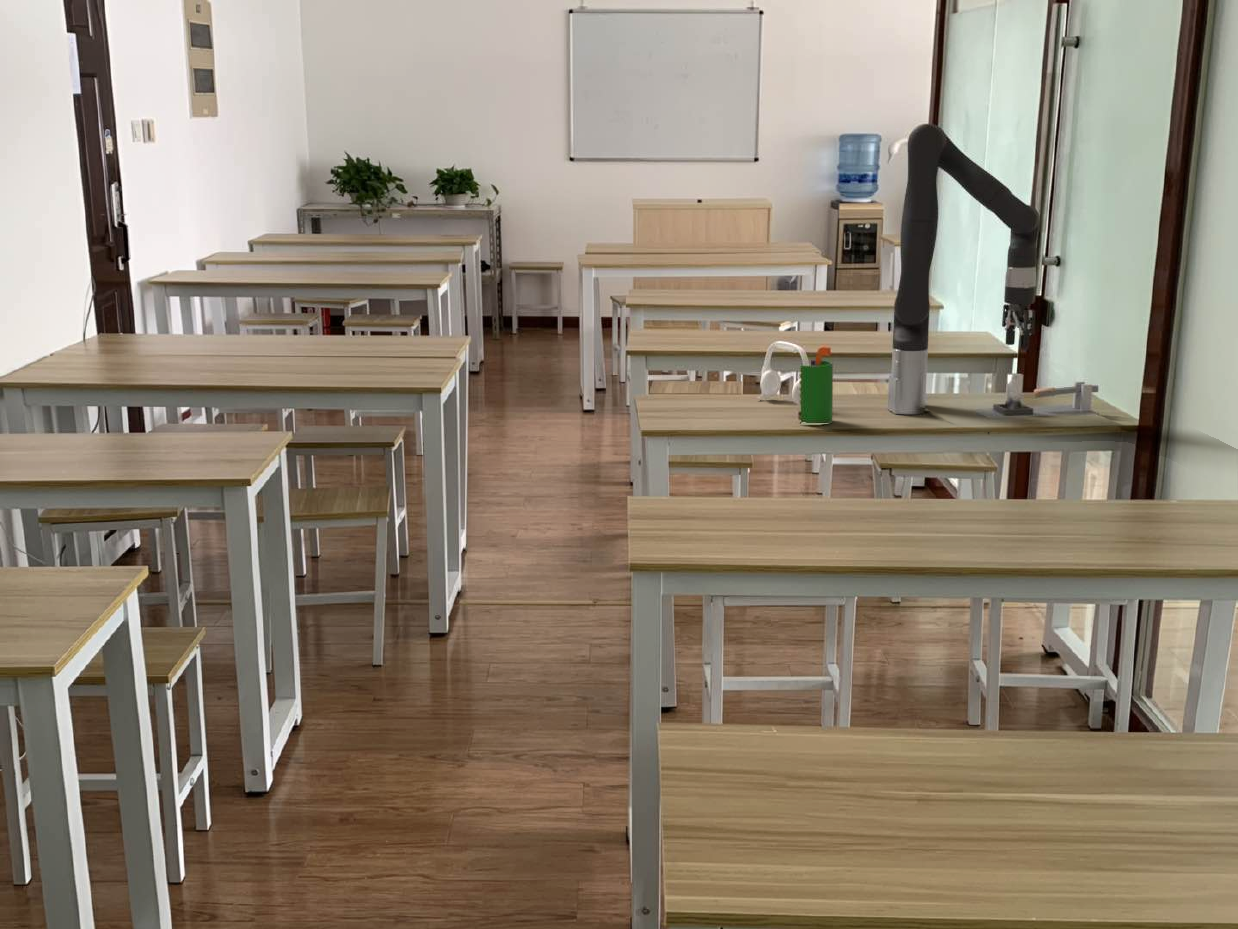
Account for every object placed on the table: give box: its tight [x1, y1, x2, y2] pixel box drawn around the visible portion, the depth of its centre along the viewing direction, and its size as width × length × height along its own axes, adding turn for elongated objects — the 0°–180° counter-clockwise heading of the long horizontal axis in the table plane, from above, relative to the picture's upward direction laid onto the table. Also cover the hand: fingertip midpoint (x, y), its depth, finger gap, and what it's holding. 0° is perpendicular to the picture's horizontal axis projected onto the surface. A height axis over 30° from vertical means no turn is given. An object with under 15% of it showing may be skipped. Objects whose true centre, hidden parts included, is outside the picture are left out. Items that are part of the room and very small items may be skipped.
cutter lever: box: [1033, 384, 1099, 398], centre depth 327 cm, size 17×2×2 cm, turn 97°
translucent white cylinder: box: [1004, 372, 1024, 409], centre depth 325 cm, size 4×4×10 cm
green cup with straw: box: [797, 345, 834, 423], centre depth 324 cm, size 10×9×20 cm
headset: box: [757, 340, 811, 406], centre depth 346 cm, size 20×7×18 cm, turn 29°
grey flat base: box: [971, 381, 1101, 419], centre depth 327 cm, size 30×12×8 cm, turn 97°
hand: (1016, 347), depth 323 cm, fingers open, 8 cm apart
